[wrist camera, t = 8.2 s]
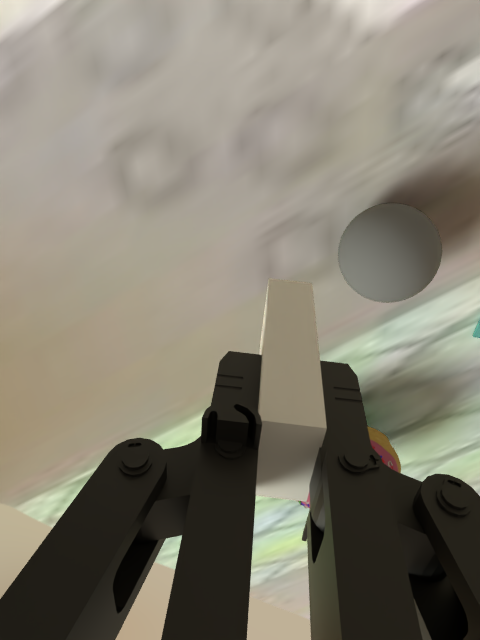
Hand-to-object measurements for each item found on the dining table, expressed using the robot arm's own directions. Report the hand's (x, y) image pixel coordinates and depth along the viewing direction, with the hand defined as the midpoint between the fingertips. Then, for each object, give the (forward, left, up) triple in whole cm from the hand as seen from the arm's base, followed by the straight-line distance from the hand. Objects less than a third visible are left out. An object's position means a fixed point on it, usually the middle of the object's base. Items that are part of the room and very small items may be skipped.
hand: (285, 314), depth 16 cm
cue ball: (+1, +6, -10) cm, 12 cm away
